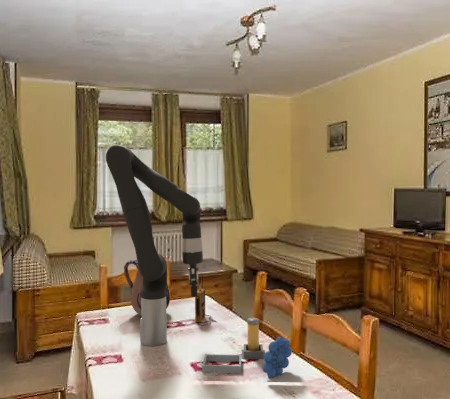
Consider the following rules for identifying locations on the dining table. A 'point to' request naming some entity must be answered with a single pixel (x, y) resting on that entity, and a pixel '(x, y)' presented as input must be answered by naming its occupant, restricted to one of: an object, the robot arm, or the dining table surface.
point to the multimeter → (200, 304)
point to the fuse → (253, 334)
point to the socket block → (253, 353)
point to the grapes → (277, 357)
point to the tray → (221, 367)
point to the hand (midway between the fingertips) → (194, 293)
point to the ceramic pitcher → (138, 288)
